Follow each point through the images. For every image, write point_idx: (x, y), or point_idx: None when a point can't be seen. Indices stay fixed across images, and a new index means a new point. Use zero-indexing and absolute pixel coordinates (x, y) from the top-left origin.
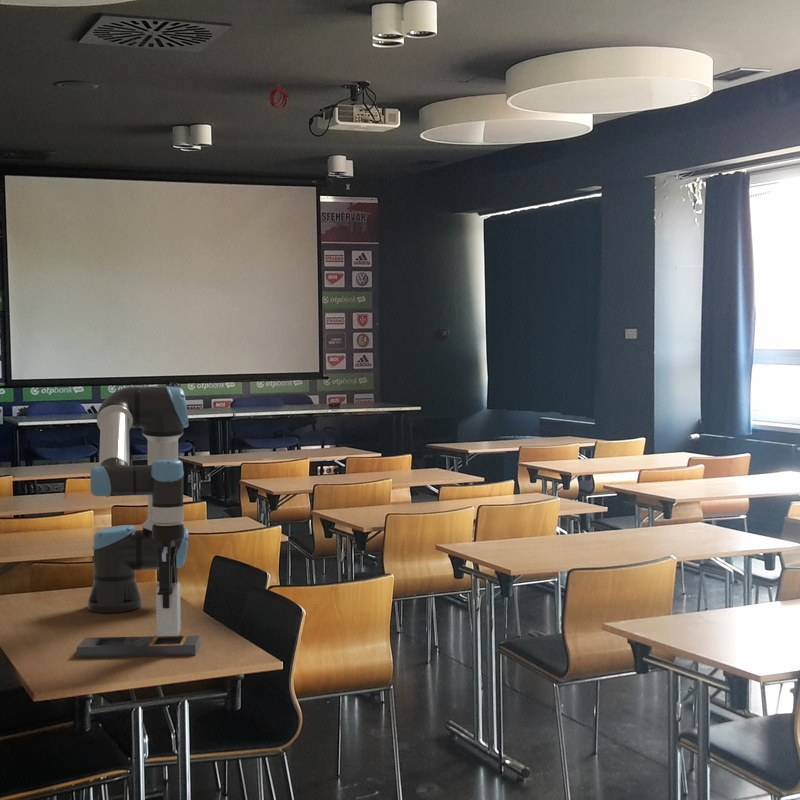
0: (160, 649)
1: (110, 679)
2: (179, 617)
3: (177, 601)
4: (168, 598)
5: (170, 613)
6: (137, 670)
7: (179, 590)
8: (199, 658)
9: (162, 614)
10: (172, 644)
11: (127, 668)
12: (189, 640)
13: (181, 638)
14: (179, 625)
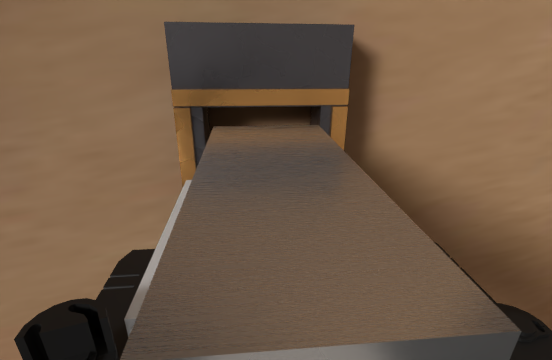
0: None
1: (529, 253)
2: (250, 148)
3: (380, 202)
4: (486, 293)
5: None
6: (467, 205)
7: (230, 261)
8: (373, 5)
9: None
10: (342, 135)
11: (437, 236)
12: (265, 67)
13: (203, 115)
14: (250, 135)
